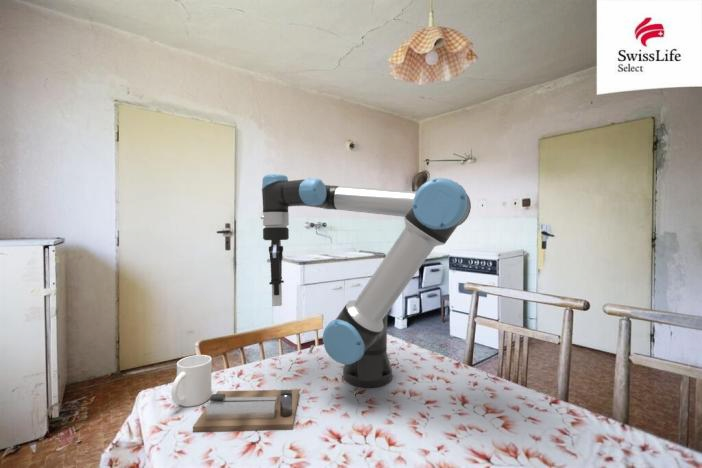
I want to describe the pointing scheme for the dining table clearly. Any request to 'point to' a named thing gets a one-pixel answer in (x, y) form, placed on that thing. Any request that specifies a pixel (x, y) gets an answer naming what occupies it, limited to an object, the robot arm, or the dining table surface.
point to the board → (250, 424)
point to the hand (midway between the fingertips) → (277, 305)
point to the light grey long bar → (240, 399)
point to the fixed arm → (249, 409)
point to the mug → (192, 381)
